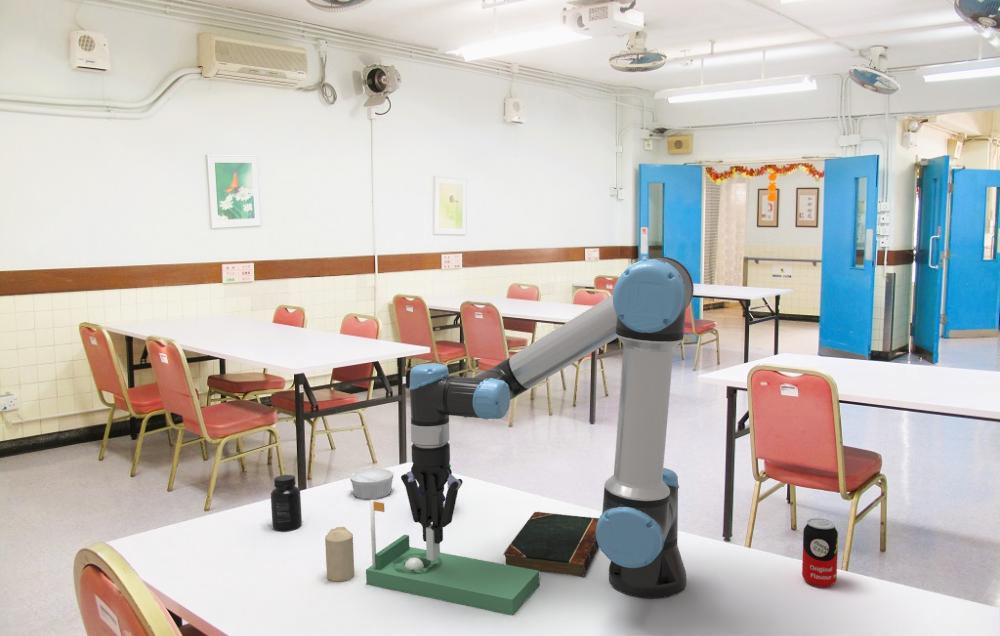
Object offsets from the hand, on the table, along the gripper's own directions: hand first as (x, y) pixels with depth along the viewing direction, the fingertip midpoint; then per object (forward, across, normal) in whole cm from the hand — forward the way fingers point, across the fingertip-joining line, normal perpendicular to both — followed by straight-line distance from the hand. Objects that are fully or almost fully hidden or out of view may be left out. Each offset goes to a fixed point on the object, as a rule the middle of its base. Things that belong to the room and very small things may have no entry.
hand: (433, 557), depth 160 cm
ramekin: (+6, +41, -38) cm, 56 cm away
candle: (+5, +19, +6) cm, 20 cm away
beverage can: (+5, -70, -30) cm, 76 cm away
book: (+6, -17, -24) cm, 30 cm away
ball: (+3, +4, 0) cm, 5 cm away
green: (+5, -4, 0) cm, 7 cm away
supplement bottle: (+5, +47, -12) cm, 48 cm away
